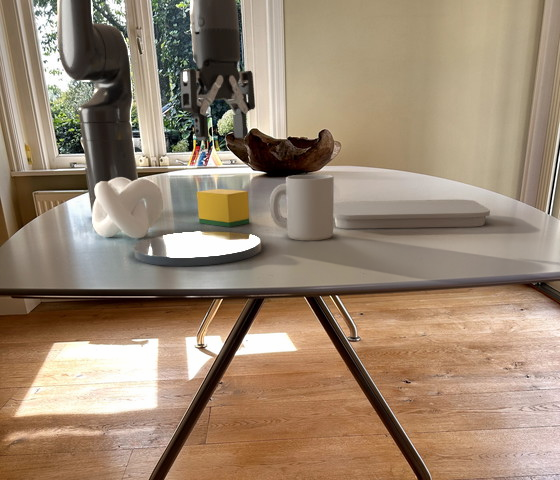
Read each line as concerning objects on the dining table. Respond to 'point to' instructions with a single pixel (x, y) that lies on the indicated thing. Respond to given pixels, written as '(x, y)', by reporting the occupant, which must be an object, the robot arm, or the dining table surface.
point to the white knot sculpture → (126, 207)
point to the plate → (197, 248)
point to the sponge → (223, 207)
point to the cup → (305, 206)
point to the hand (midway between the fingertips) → (221, 139)
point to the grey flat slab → (409, 214)
